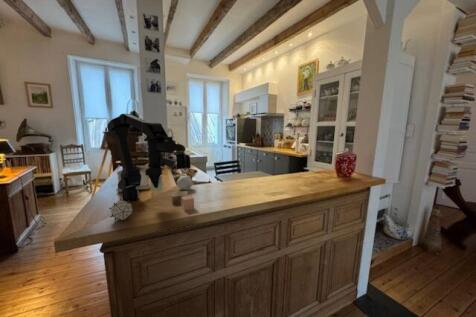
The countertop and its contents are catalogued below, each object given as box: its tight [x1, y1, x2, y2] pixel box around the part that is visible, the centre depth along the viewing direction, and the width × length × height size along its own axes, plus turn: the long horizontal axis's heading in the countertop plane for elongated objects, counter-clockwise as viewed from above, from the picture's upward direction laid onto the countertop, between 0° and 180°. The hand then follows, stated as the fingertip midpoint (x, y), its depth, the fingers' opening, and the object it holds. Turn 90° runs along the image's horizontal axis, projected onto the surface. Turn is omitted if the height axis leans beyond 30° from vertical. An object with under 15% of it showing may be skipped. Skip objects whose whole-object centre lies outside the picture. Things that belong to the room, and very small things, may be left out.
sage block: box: [150, 175, 164, 191], centre depth 90 cm, size 4×4×5 cm
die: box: [176, 175, 194, 191], centre depth 117 cm, size 8×9×10 cm
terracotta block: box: [180, 195, 195, 212], centre depth 91 cm, size 4×4×5 cm
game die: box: [108, 197, 136, 223], centre depth 78 cm, size 9×8×10 cm
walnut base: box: [171, 190, 189, 205], centre depth 99 cm, size 7×7×4 cm
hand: (156, 186), depth 90 cm, fingers closed on sage block, 4 cm apart
